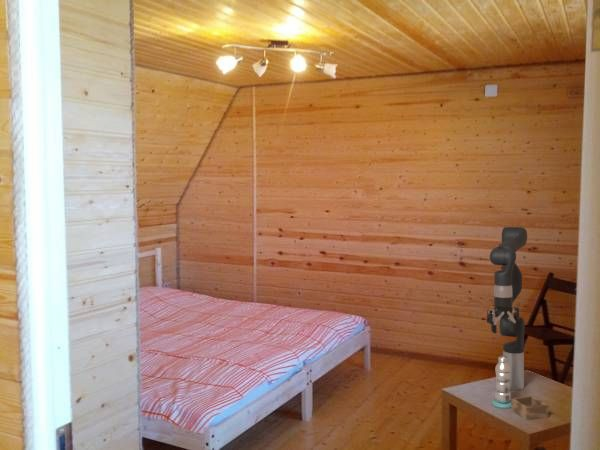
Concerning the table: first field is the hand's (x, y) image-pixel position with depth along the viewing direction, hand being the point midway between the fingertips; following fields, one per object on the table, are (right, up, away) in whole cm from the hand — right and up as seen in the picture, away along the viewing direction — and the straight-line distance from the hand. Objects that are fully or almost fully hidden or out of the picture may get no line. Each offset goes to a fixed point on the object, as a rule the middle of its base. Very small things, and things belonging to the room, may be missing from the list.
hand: (503, 332), depth 259 cm
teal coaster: (+1, -32, +2) cm, 32 cm away
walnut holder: (+8, -33, -8) cm, 35 cm away
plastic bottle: (+1, -31, +3) cm, 31 cm away
